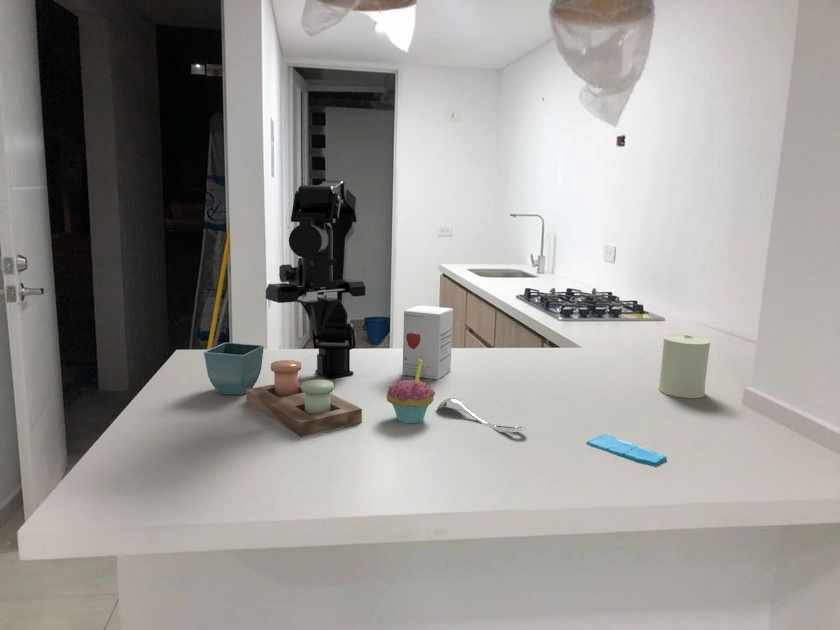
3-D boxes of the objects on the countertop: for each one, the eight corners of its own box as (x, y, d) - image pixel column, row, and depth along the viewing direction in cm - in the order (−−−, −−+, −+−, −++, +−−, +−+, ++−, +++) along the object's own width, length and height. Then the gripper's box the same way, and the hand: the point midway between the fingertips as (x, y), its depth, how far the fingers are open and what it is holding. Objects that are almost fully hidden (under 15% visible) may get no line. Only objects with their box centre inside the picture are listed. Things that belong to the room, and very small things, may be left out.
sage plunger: (323, 409, 112) (323, 377, 111) (339, 418, 107) (339, 385, 106) (295, 415, 108) (295, 382, 107) (311, 424, 104) (311, 390, 103)
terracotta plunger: (293, 388, 121) (292, 358, 120) (306, 395, 116) (306, 364, 115) (266, 393, 117) (265, 362, 116) (279, 400, 113) (279, 369, 112)
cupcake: (439, 414, 113) (441, 351, 111) (424, 430, 105) (426, 362, 103) (396, 408, 115) (397, 347, 113) (378, 423, 108) (379, 357, 105)
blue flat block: (647, 467, 91) (670, 453, 94) (583, 441, 101) (605, 430, 104) (647, 476, 92) (669, 462, 95) (583, 449, 101) (605, 438, 104)
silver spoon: (533, 413, 104) (516, 419, 100) (533, 434, 104) (516, 440, 101) (448, 393, 118) (431, 397, 115) (449, 411, 119) (431, 416, 115)
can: (705, 389, 133) (711, 335, 131) (704, 401, 125) (711, 343, 123) (659, 383, 137) (664, 330, 135) (656, 394, 128) (662, 338, 126)
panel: (302, 391, 125) (302, 379, 124) (361, 422, 108) (361, 408, 107) (246, 401, 117) (245, 389, 117) (300, 437, 100) (300, 422, 100)
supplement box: (400, 375, 138) (402, 310, 135) (416, 366, 146) (417, 304, 144) (438, 380, 135) (440, 313, 132) (451, 370, 143) (454, 307, 140)
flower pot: (245, 399, 119) (244, 354, 117) (204, 396, 120) (202, 351, 119) (265, 387, 127) (264, 345, 125) (226, 383, 129) (225, 342, 127)
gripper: (337, 249, 127) (337, 322, 129) (252, 251, 115) (254, 332, 118) (367, 253, 118) (367, 332, 121) (278, 256, 106) (280, 343, 109)
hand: (317, 334), depth 117 cm, fingers closed
